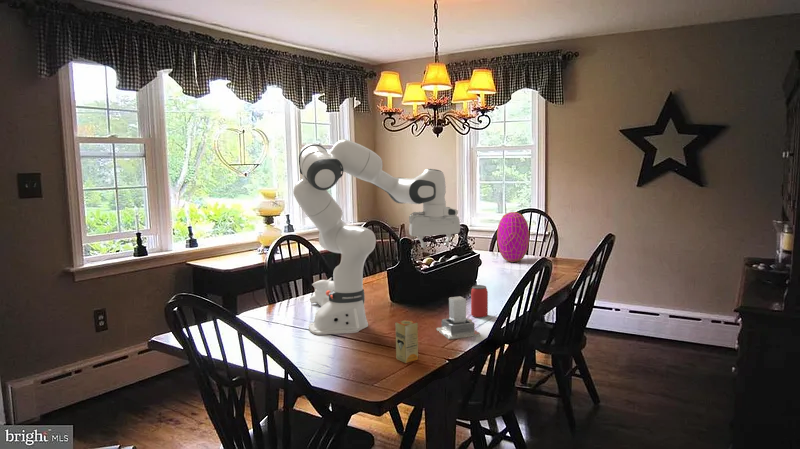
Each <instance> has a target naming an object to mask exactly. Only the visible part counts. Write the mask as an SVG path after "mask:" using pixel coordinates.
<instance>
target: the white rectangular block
mask: <svg viewBox="0 0 800 449" xmlns="http://www.w3.org/2000/svg"><path fill="white" fill-rule="evenodd" d="M466 318H467V299H466V298H464V297H463V296H460V295H459V296H451V297H449V298H448V319H449V323H451V324H452V325H456V324H465V323H466Z"/></svg>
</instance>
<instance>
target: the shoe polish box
mask: <svg viewBox="0 0 800 449" xmlns="http://www.w3.org/2000/svg"><path fill="white" fill-rule="evenodd" d="M418 328H419V327H418V322H416V321H414V320H411V319H403V320H399V321H396V322H395V357H396V358H395V359H396V360H398V361H400V362H402V363H405V364H408V363H411V362H414V361H418V360H419V336H418V335H419V334H418V333H419V332H418V330H419V329H418Z"/></svg>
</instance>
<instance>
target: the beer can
mask: <svg viewBox="0 0 800 449" xmlns="http://www.w3.org/2000/svg"><path fill="white" fill-rule="evenodd" d="M488 293H489V292H488V289H487V286H486V285H482V284H477V285H472V287H471V292H470V295H471V296H470V309H471V310H470V315H471V316H472V317H474V318H478V319H482V318H487V317H488V314H489V312H488V308H489V307H488V306H489V302H488V301H489V299H488V296H489V295H488Z"/></svg>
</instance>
